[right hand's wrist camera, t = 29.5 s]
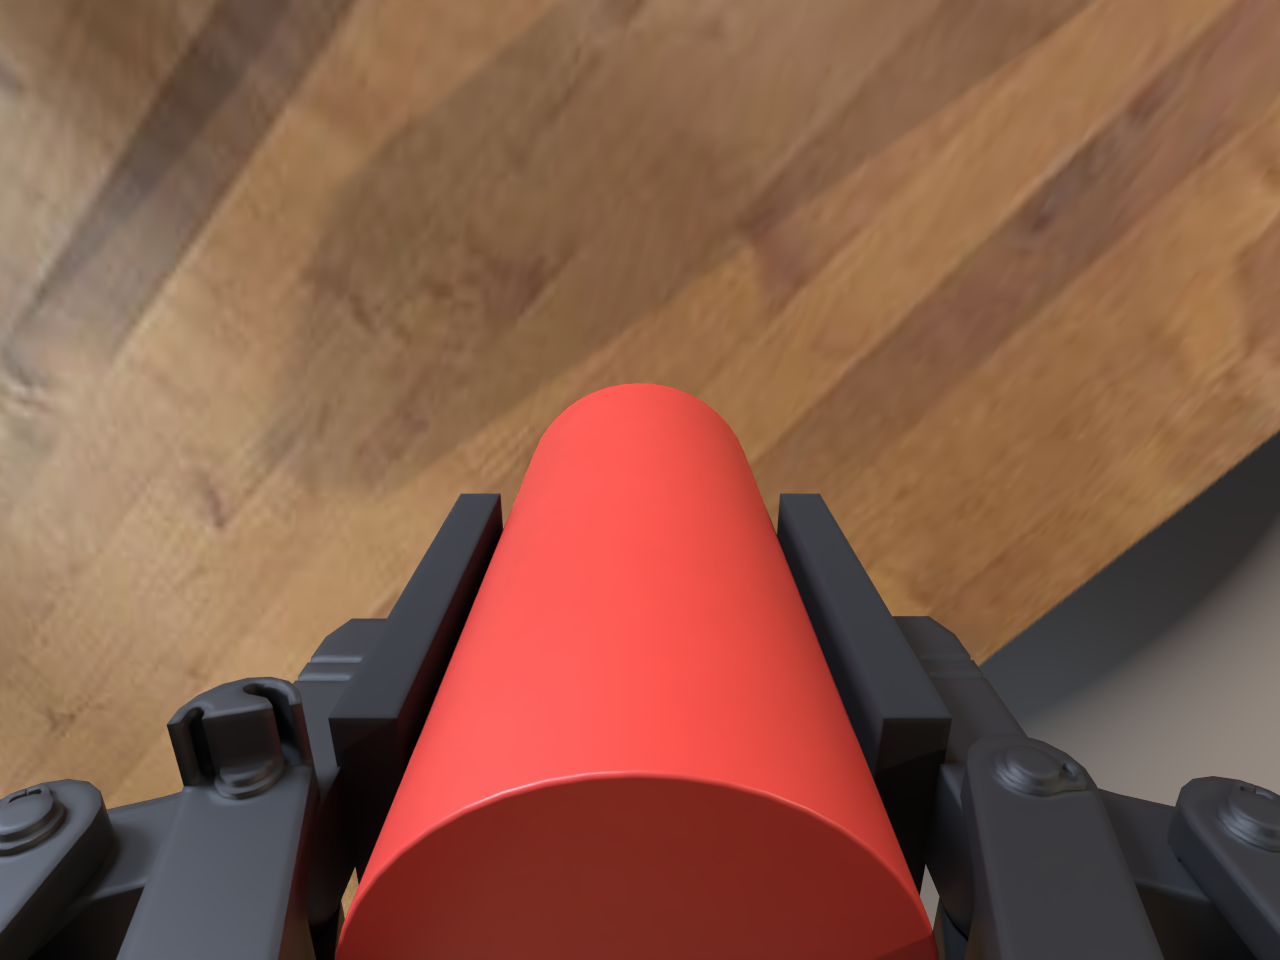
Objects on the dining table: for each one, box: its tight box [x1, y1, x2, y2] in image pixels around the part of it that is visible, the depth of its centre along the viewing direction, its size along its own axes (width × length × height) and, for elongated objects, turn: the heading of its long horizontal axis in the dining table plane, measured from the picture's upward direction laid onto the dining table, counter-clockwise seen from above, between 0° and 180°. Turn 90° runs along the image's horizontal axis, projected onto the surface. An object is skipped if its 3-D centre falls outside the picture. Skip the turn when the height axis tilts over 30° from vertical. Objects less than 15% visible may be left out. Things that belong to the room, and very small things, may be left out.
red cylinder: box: [335, 383, 939, 960], centre depth 12 cm, size 5×5×12 cm
